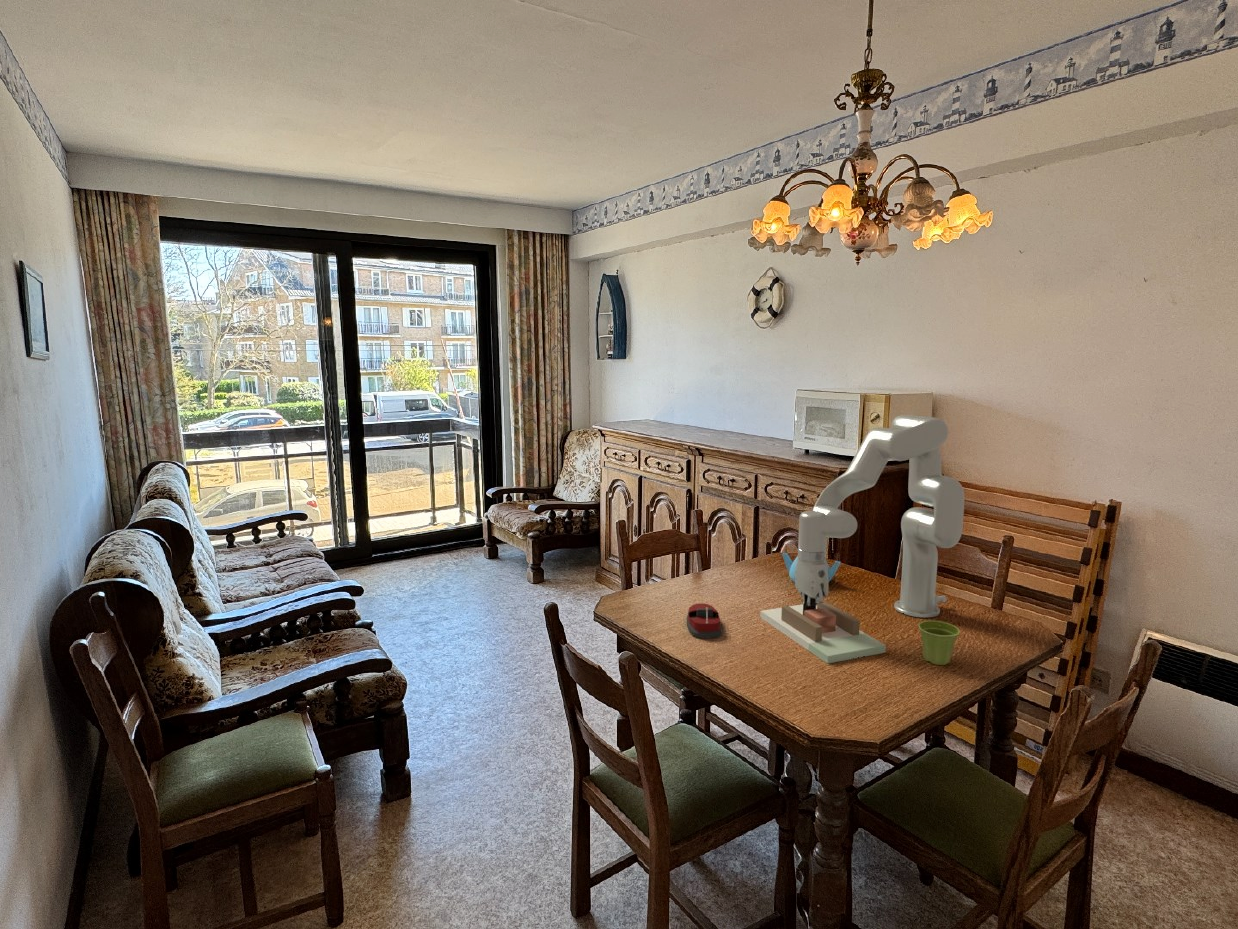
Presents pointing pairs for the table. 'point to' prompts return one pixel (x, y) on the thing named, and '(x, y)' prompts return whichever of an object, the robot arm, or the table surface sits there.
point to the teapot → (792, 565)
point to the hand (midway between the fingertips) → (809, 617)
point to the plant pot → (938, 641)
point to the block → (822, 619)
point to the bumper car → (704, 621)
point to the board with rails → (824, 645)
